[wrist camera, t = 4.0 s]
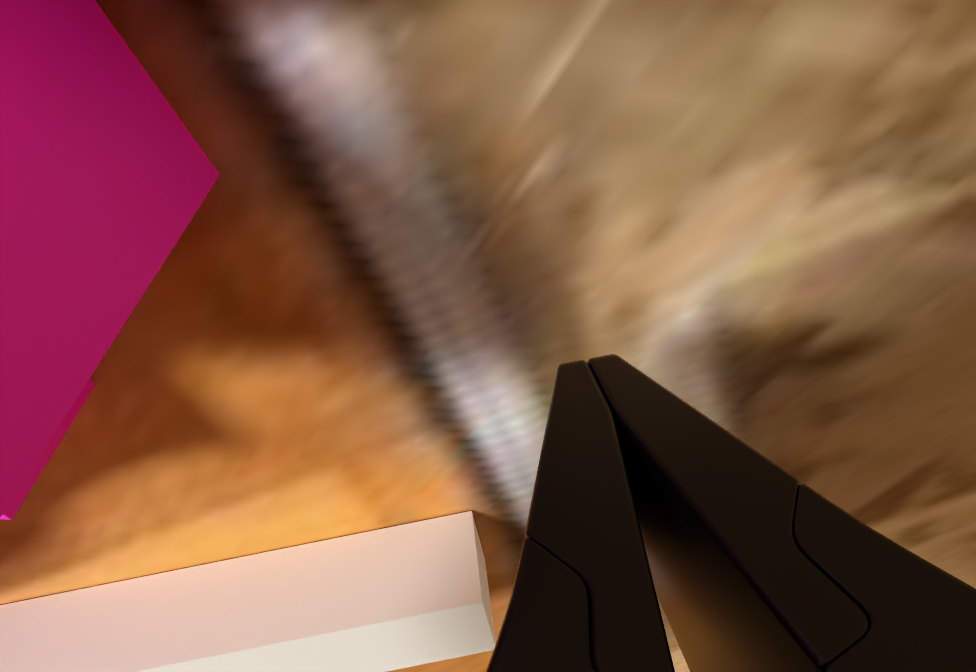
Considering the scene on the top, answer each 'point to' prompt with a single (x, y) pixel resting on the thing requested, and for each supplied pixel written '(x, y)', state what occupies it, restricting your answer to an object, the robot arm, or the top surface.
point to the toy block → (76, 214)
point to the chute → (274, 610)
